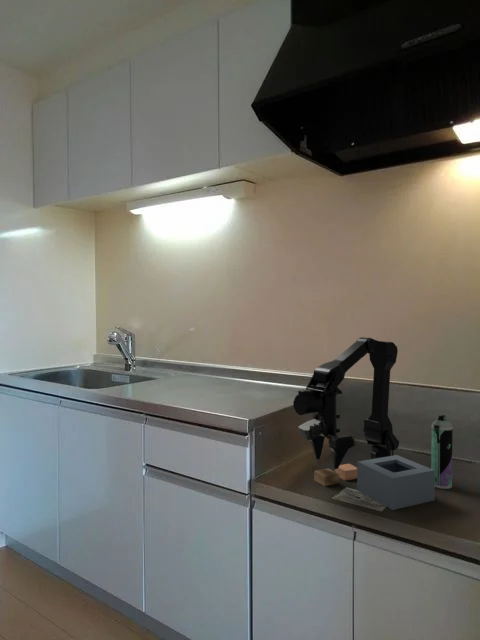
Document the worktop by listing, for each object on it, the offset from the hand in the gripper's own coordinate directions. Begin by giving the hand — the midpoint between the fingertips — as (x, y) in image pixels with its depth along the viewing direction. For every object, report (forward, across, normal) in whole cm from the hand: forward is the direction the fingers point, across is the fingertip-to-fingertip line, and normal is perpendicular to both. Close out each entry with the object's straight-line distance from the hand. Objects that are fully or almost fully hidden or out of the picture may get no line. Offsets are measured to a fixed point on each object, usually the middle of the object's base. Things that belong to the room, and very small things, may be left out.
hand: (326, 463), depth 138 cm
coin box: (+5, +16, +11) cm, 20 cm away
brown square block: (+6, 0, 0) cm, 6 cm away
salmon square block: (+6, -1, +8) cm, 10 cm away
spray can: (+5, +16, +28) cm, 33 cm away
